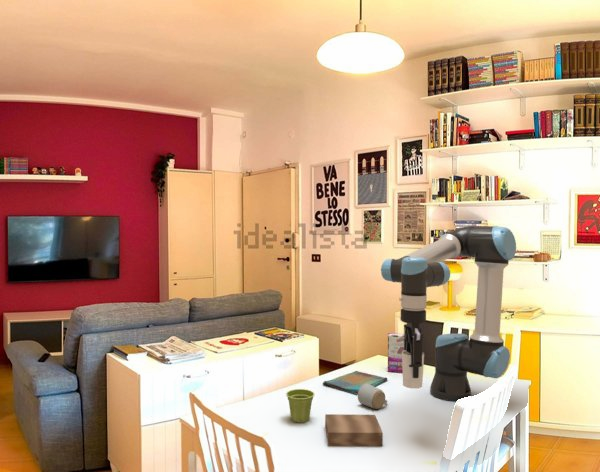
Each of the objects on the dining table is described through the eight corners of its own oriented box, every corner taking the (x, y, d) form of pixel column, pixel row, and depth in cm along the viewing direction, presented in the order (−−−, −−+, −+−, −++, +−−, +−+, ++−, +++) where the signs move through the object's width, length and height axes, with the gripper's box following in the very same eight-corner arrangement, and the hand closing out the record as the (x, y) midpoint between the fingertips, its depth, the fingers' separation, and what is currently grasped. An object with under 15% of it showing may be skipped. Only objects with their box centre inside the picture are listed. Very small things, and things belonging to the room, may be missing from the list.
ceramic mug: (373, 412, 179) (373, 391, 178) (356, 405, 185) (357, 385, 184) (392, 406, 185) (393, 385, 185) (376, 400, 191) (376, 380, 191)
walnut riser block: (374, 426, 166) (375, 414, 166) (382, 446, 152) (382, 432, 152) (325, 426, 166) (325, 414, 165) (328, 445, 152) (328, 432, 151)
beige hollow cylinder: (410, 390, 152) (410, 356, 152) (397, 383, 158) (397, 351, 158) (428, 387, 155) (428, 354, 154) (414, 380, 161) (415, 348, 160)
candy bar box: (412, 370, 229) (413, 333, 228) (413, 373, 224) (414, 336, 223) (387, 368, 230) (387, 332, 230) (387, 372, 226) (388, 334, 225)
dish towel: (321, 387, 206) (321, 380, 206) (354, 374, 224) (354, 368, 224) (356, 397, 195) (356, 390, 195) (388, 382, 213) (388, 376, 213)
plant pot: (293, 427, 165) (294, 400, 165) (281, 416, 173) (281, 391, 173) (319, 422, 169) (319, 395, 169) (305, 412, 178) (306, 387, 177)
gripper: (394, 303, 165) (393, 375, 166) (408, 314, 146) (406, 395, 147) (418, 303, 165) (416, 375, 166) (434, 314, 146) (432, 395, 147)
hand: (412, 384), depth 156 cm, fingers closed on beige hollow cylinder, 6 cm apart
